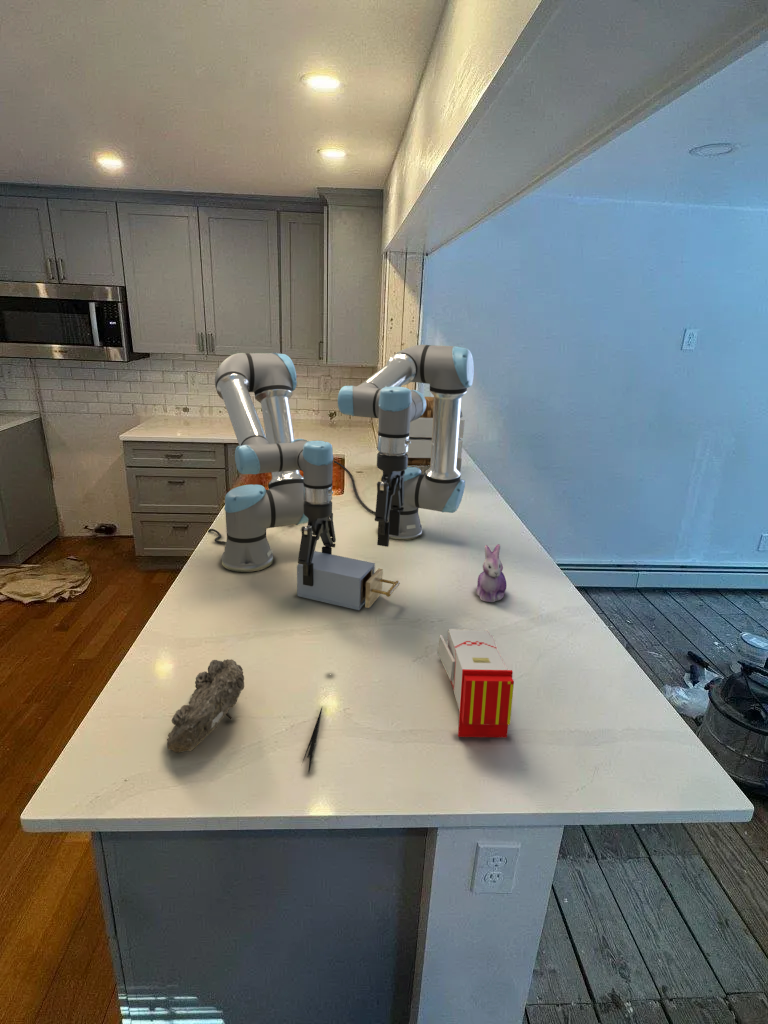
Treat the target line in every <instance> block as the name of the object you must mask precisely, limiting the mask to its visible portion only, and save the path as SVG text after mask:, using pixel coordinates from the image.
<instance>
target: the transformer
mask: <svg viewBox="0 0 768 1024" xmlns="http://www.w3.org/2000/svg"><path fill="white" fill-rule="evenodd" d="M424 397H425V400H426V409H425V412H424V413H423V414H422V415H421V416H420V417H419V418H418V419H416V420H414V421H412V422H410V430H409V441H410V442H411V444H410V445H408V452H407V455H408V465H407V467H417V466H418V467H430V464H431V445H432V426H433V407H434V396H424ZM464 429H465V419H464V418H463V411H462V408H461V409H460V423H459V437H458V450H457V464H456V469H457V470H458V471H459V472H460V475H461V472H462V461H463V460H462V453H463V442H464V441H463V440H462V439H463V438H464V431H465V430H464Z"/></svg>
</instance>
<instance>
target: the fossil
mask: <svg viewBox="0 0 768 1024" xmlns="http://www.w3.org/2000/svg"><path fill="white" fill-rule="evenodd" d="M243 670H244V669H243V667H242V665H240V664H237V662H236V661H235V660H234V659H232V658H231V659H227V658H226V659H224V660H223V661H222V660H217V659H212V660H211V661H210V663H209V665H208V666H207V671H201V672H199V673H198V674H197V675H196V676H195V680H194V684H195V685H194V687H195V689H194V690H193V693H192V694H191V697H190V698H189V700H188V704H184V705H182V706H181V707H180V709H177V710H176V711H175V713H174V715H173V716H172V718H171V723H172V724H173V727H172V730H171V731H170V732H168V734H167V738H166V741H167V742H166V745H167V749H168V750H169V751H173V752H174V753H176V754H178V753H182V752H188V751H189V752H192V751H193V750H195V748H196V747H197V746H199V744H200V743H201V742H203V741H204V740H205V739H206V738H207V737H208V736H209V735H210V734H211V733H212V732H214V730H215V729H217V727H218V726H219V724H220V722H221V721H222V720H223V719H224V718H225V716H226V717H227V719H229V720H233V717H232V715H230V714H229V710H230V709H231V708H234V706H235V704H236V703H237V702H238V699H239V697H240V695H241V693H242V691H243V690H245V689H244V688H245V675H244V671H243Z"/></svg>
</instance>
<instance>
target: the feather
mask: <svg viewBox="0 0 768 1024" xmlns="http://www.w3.org/2000/svg"><path fill="white" fill-rule="evenodd" d="M329 675H330V676H331V675H332V674H331V673H330V674H329ZM322 710H323V707H321V708H320V710H319V713H318V716H317V719H316V723H315V725H314V728H313V731H312V733H311V737H310V739H309V742H308V745H307V748H306V751H305V754H304V757H303V760H302V763H301V767H302V765H303V763H304V761H305V758H308V759H309V760H308V762H307V763H308V764H307V766H308V771H310V770H311V766H312V765H311V764H312V760H313V757H315V756H314V755H315V751H316V749H315V746H317V739H318V733H319V729H320V722H321V717H322V712H323V711H322ZM313 754H314V755H313ZM306 755H307V757H306Z"/></svg>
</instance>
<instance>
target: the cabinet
mask: <svg viewBox="0 0 768 1024" xmlns="http://www.w3.org/2000/svg"><path fill="white" fill-rule="evenodd" d="M312 563H313V586H307V585H303V564H298V563H297V564H296V593H297V594H296V595H297V597H300V598H304V599H308V600H313V601H316V602H320V603H321V602H322V603H326V604H330V605H333V606H338V607H342V608H348V609H351V610H355V611H360V610H361V609H362V608H363V606H365V599H364V601H363V602H362V603H361V580H362V579H363V578H364V577H365V576H366V575H367V574H368V573H369V572H370V571H371V570H372V569H373V570H372V575H373V574H374V573H375V572H376V570H375V569H376V563H375V562H371V561H367V560H362V559H358V558H357V559H356V558H351V557H346V556H341V555H336V554H333V553H332V554H327V553H322V551H318V550H317V551H316V550H315V551H314V555H313V559H312Z"/></svg>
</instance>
